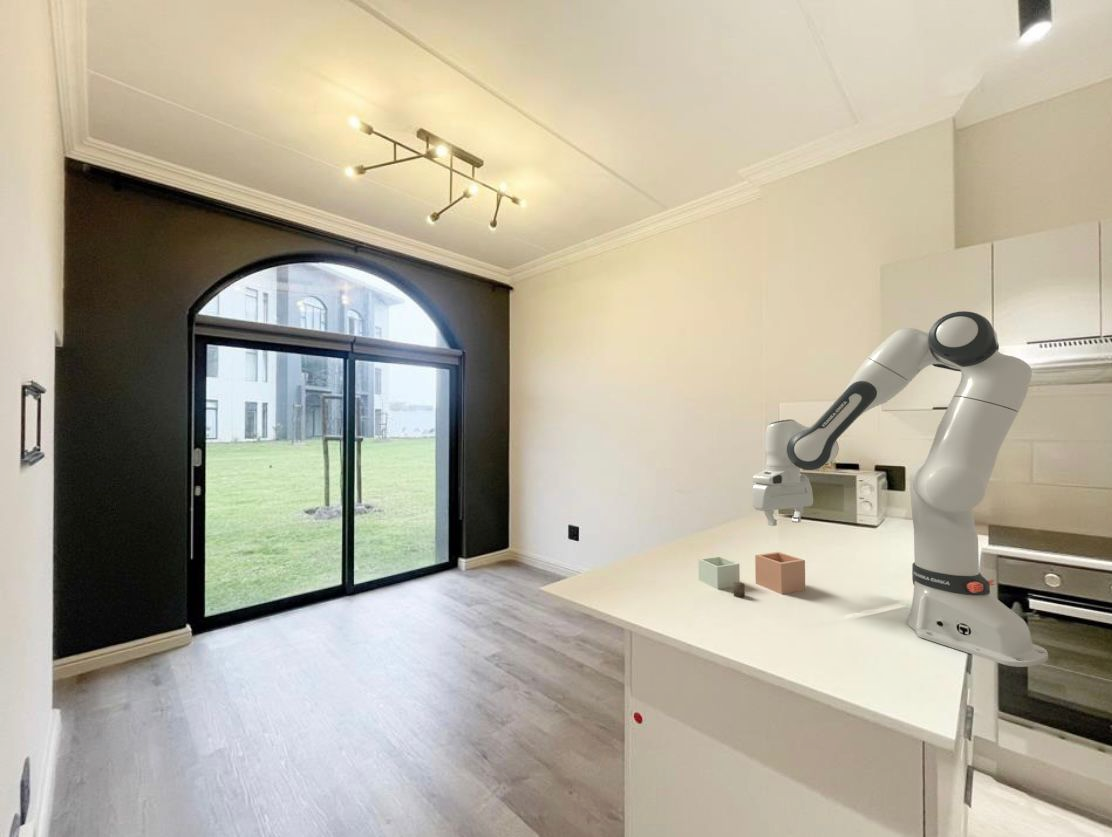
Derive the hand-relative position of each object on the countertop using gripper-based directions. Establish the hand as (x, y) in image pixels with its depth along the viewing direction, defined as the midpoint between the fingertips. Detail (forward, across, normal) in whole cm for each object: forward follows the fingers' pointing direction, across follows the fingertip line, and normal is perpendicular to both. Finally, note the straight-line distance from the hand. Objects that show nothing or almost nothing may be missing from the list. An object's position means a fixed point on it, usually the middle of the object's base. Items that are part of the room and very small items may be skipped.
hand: (784, 523), depth 127 cm
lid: (+19, +18, 0) cm, 26 cm away
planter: (+18, +2, 0) cm, 19 cm away
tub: (+18, +16, -10) cm, 26 cm away
